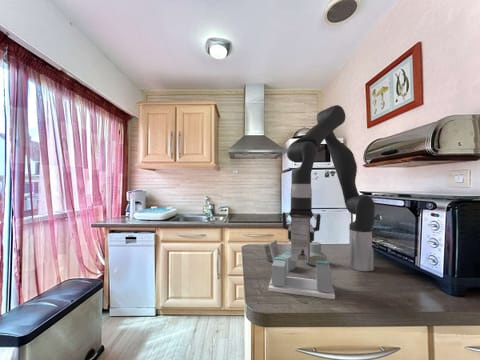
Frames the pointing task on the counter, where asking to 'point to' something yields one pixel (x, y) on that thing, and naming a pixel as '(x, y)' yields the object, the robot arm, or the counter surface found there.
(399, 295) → the counter surface
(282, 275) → the grey u-shaped holder
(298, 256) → the coffee box
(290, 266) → the block
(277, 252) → the electrical switch
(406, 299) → the counter surface
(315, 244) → the air freshener
